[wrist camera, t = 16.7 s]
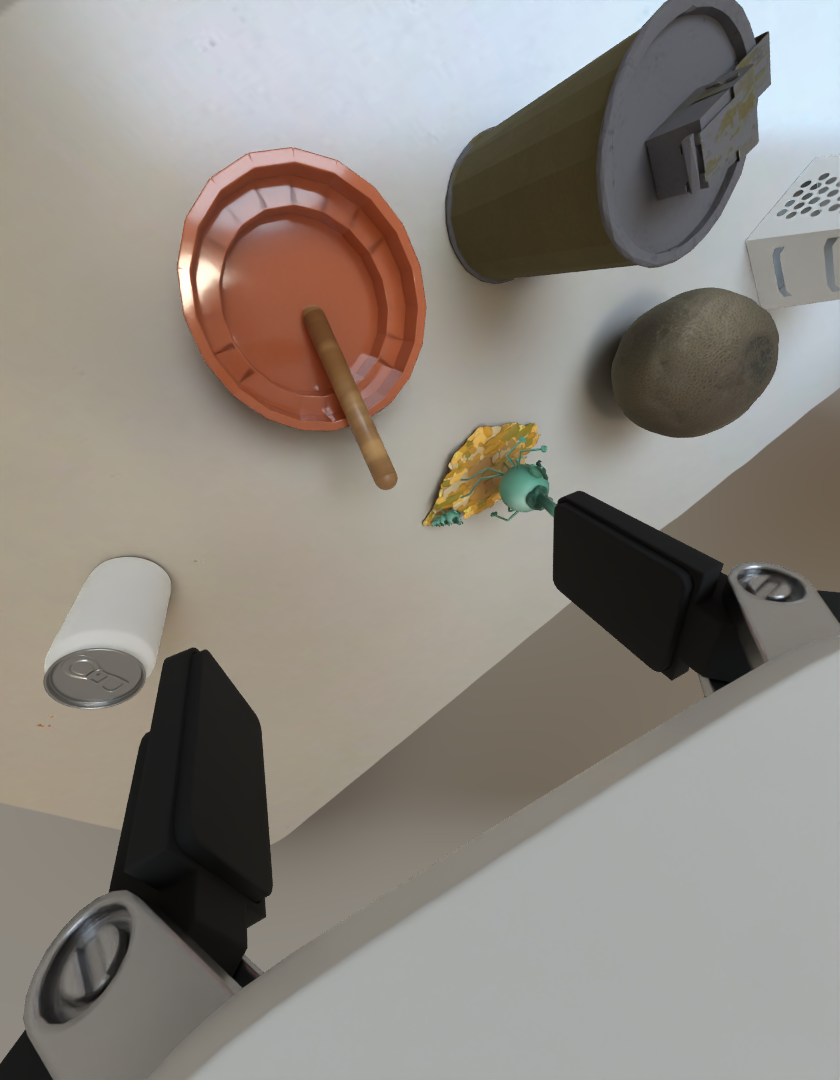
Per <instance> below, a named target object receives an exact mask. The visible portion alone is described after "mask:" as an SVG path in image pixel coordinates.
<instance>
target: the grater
mask: <svg viewBox="0 0 840 1080" xmlns="http://www.w3.org/2000/svg"><path fill="white" fill-rule="evenodd" d="M806 181H812V182H811V184H810V185H809V186H807V187H804V188H801V187H800V186H801V185H802V184H803V183H804V182H806ZM816 183H818V188H817V189H815V190H810V188H811V186H812V185H814V184H816ZM799 190H803V191H804V192H803V193H802V194H801V195H800V196H798V197H793V194H794V193H795V192H797V191H799ZM817 192H819V194H817ZM807 193H813V195H812V196H811V197H810V198H808V199H806V200H802V197H803V196H804V195H806V194H807ZM815 197H819V201H818V202H816V203H814V204H809V201H810V200H811V199H813V198H815ZM790 200H795V203H794V204H793V205H791V206H789V207H785V204H786V203H787V202H788V201H790ZM801 202H804V203H805V204H804V206H803V207H801V208H799V209H794V206H795V205H797V204H798V203H801ZM819 204H820V207H819V206H818V205H819ZM806 207H812V209H811V210H810V211H809V212H807V213H805V214H801V213H800V212H801V211H802V210H803V209H804V208H806ZM783 209H787V210H788V211H787V212H786V213H785V214H784V215H782V216H777V213H778V212H779V211H781V210H783ZM818 209H820V214H819V215H817V216H814V217H811V216H810V214H811V213H812V212H813V211H815V210H818ZM791 212H797V214H796V215H795V216H794V217H792V218H790V219H786V216H787V215H788V214H789V213H791ZM746 245H747V250H748V254H749V258H750V263H751V267H752V271H753V276H754V280H755V285H756V289H757V293H758V298H759V302H760V306H761V307H762V308H763V309H765V310H769V309H776V308H783V307H790V306H797V305H804V304H810V303H817V302H824V301H831V300H838V299H840V155H830V156H821V157H815V158H814V159H813V160H812V162H811V163H810V164H809V165H808V166H807V168H806V169H805V170H804V171H803V172H802V174H801V175H800V176H799V177H798V178H797V180H796V181H795V182H794V183H793V184H792V186H791V187H790V188H789V189H788V190H787V192H786V193H785V194H784V195H783V196H782V198H781V199H780V200H779V201H778V202H777V204H776V205H775V206H774V207H773V208H772V210H771V211H770V212H769V213H768V214H767V216H766V217H765V218H764V219H763V220H762V222H761V223H760V224H759V225H758V226H757V228H756V229H755V230H754V231H753V232H752V234H751V235H750V236H749V237H748V238H747V240H746ZM784 246H785V248H784V249H783V251H782V252H781V254H780V261H781V266H782V272H783V277H784V282H785V284H784V285H783V286H782V288H781V289H780V290H779V289H778V284H777V278H776V273H775V268H774V262H773V257H772V256H773V253H774V250H775V248H779V247H784Z"/></svg>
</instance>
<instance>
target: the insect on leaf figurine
mask: <svg viewBox="0 0 840 1080" xmlns="http://www.w3.org/2000/svg"><path fill="white" fill-rule="evenodd" d="M534 424H535V423H534ZM534 424H528V425H527V426H523V425H518V423H513V424H512V423H508V424H503V425H502V426H501V427H499V426H493V427H489V426H484V427H478V428H477V429H476V430H475V432H474V433H473V434H472V435H471V436H470V437H469V438H468V439H467V441H466V443H465V444H464V445H463V446H462V447H461V448H460V449H459V450H458V451H457V452H456V453H455V454H454V456H453V457H452V460H451V462H450V463H449V468H450V469H451V472H450V473H449V474H447V475H446V476H445V479H444V481H443V483H442V484H441V488H442V489H440V491H439V498H438V499H437V501H436V503H435V505H434V506H433V508H434V509H432V511H430V513H429V514H428V516H427V518H426V519H425V520H424V522H423V525H424V526H430V525H431V526H436V527H437V526H439V527H440V525H442V526H444V525H445V524H447V525H448V526H450V524H451V525H452V524H455V523H456V524H458V525H461V523H460V522H461V519H460V515H459V514H460V513H461V512H463V511H464V513H465V514H464V518H465V519H467V518H468V517H469V516H472V515H474V514H477V513H479V512H481V511H483V510H485V509H487V508H489V507H492V506H493V505H494V503H495V502H497V501H498V500H500V499H502V500H503V502H504V503H505V504H506V505H507V506H508V511H509V512H512V511H515V510H516V512H515V513H514V514H513V515H512V516H511V517H510V518H509V519H508V520H507V519H505V518H502V517H500V516H497V512H495V513H494V512H493V513H491V517H494V516H496V517H498V518H500V519H503V520H505V521H509V520H510V519H511V518H513V517H514V516H515V515H516V514H517V513H518V512H529V511H533V510H543V509H544V508H545V509H546V510H547V511H548V512H549V513H550V514H551V515H552V516H553V517H554V508H555V506H556V505H557V504H555V503H554V502H553V499H552V498H550V497H548V493H549V483H548V477H547V474H546V470H545V468H543V467H542V466H541V464H540V462H541V461H540V460H538V462H536V465H535V464H531V465H529V464H526V463H524V462H525V459H526V458H527V456H526V454H527V453H529V452H530V451H536V450H542V452H546V450H547V446H541V448H537V449H531V448H532V447H533V446H534V445H535V444H536V443H537V440H538V438H539V437H540V435H538V433H537V428H538V426H537V425H534ZM533 425H534V426H533ZM451 507H452V508H453V510H451V509H452V508H451ZM510 508H511V509H513V510H510ZM462 524H463V522H462ZM445 526H446V525H445Z"/></svg>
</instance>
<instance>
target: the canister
mask: <svg viewBox="0 0 840 1080" xmlns="http://www.w3.org/2000/svg"><path fill="white" fill-rule="evenodd" d="M770 85H771V75H770V44H769V32H765V33H763V34H761V35H760V36H758V37H756V38H754V35H753V32H752V29H751V26H750V23H749V21H748V18H747V16H746V14H745V12H744V10H743V8H742V7H741V6H740V5H739V4H738V3H737V2H736V1H735V0H668V1H666V2H665V3H664V4H663V5H662V6H661V7H660V8H659V9H658V10H657V11H656V12H655V13H654V15H653V16H652V17H651V18H650V19H649V20H648V21H647V22H646V23H645V24H644V25H643V26H642V28H641V29H639V30H638V31H637V32H635V33H634V34H632V35H631V36H629V37H628V38H626V39H625V40H623V41H622V42H620V43H619V44H617V45H616V46H614V47H613V48H611V49H610V50H608V51H607V52H605V53H604V54H602V55H601V56H599V57H598V58H597V59H595V60H594V61H592V62H591V63H589V64H588V65H586V66H585V67H583V68H582V69H580V70H579V71H577V72H576V73H574V74H573V75H571V76H570V77H568V78H567V79H565V80H564V81H562V82H561V83H560V84H558V85H557V86H555V87H554V88H552V89H551V90H549V91H548V92H546V93H545V94H543V95H542V96H540V97H539V98H537V99H536V100H534V101H533V102H531V103H530V104H528V105H527V106H525V107H524V108H523V109H521V110H520V111H518V112H517V113H515V114H514V115H512V116H511V117H509V118H508V119H506V120H505V121H503V122H502V123H500V124H499V125H497V126H496V127H492V128H489V129H487V130H485V131H483V132H481V133H480V134H478V135H477V136H476V137H474V138H473V139H472V140H471V141H470V143H469V144H468V145H467V146H466V147H465V149H464V150H463V152H462V153H461V155H460V156H459V157H458V159H457V162H456V164H455V166H454V169H453V171H452V173H451V178H450V183H449V188H448V193H447V198H446V216H447V226H448V232H449V237H450V241H451V243H452V246H453V248H454V250H455V253H456V255H457V256H458V258H459V259H460V261H461V262H462V264H463V265H464V267H465V268H466V270H467V271H468V272H470V273H471V274H472V275H474V276H475V277H477V278H478V279H480V280H481V281H484V282H489V283H503V282H507V281H510V280H513V279H514V278H522V277H531V276H540V275H550V274H559V273H569V272H578V271H587V270H597V269H606V268H616V267H625V266H634V265H639V266H643V267H648V268H654V267H661V266H664V265H667V264H670V263H673V262H675V261H677V260H678V259H680V258H681V257H683V256H684V255H686V254H687V253H689V252H690V251H691V250H692V249H693V248H694V247H695V246H696V245H697V244H698V243H699V242H700V241H701V240H702V239H703V238H704V237H705V236H706V235H707V233H708V232H709V231H710V230H711V228H712V227H713V225H714V224H715V223H716V221H717V220H718V218H719V217H720V216H721V214H722V212H723V210H724V208H725V206H726V204H727V202H728V200H729V198H730V196H731V194H732V192H733V190H734V188H735V186H736V184H737V182H738V180H739V178H740V176H741V173H742V169H743V166H744V162H745V158H746V155H747V154H748V153H749V152H750V151H751V150H752V149H753V148H754V147H755V146H756V145H757V144H758V142H759V137H758V120H757V103H758V97H759V96H760V95H761V94H762V93H763V92H764V91H765V90H766V89H767V88H768V87H769V86H770Z"/></svg>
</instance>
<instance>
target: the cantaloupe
mask: <svg viewBox="0 0 840 1080" xmlns="http://www.w3.org/2000/svg"><path fill="white" fill-rule="evenodd" d="M778 343H779V334H778V331H777V328H776V325H775V323H774V320H773V319H772V317H771V315H770V314H769V313H768V312H767V311H766V310H765V309H763V308H762V307H760V306H759V305H758V304H757V303H756V302H755V301H753V300H752V299H750V298H748V297H745V296H743V295H740V294H737V293H734V292H731V291H728V290H724V289H719V288H701V289H695V290H691V291H687V292H684V293H681V294H679V295H677V296H675V297H672V298H671V299H669V300H667V301H666V302H663V303H661V304H659V305H657V306H655V307H654V308H652V309H650V310H649V311H647V312H646V313H644V314H643V315H642V316H640V317H639V318H638V319H637V320H636V321H635V322H634V323H633V324H632V325H631V326H630V328H629V329H628V330H627V331H626V333H625V334H624V336H623V337H622V339H621V341H620V343H619V346H618V350H617V353H616V355H615V357H614V359H613V362H612V370H611V380H612V388H613V394H614V397H615V400H616V402H617V404H618V406H619V407H620V408H621V410H622V411H623V412H624V414H625V415H626V416H627V417H628V418H629V419H630V420H631V421H632V422H634V423H635V424H636V425H638V426H640V427H642V428H644V429H646V430H648V431H651V432H654V433H657V434H661V435H664V436H668V437H676V438H688V437H697V436H702V435H705V434H708V433H710V432H713V431H715V430H718V429H720V428H722V427H724V426H726V425H728V424H729V423H731V422H733V421H735V420H736V419H737V418H739V417H740V416H741V415H742V414H744V413H745V412H746V411H747V410H748V409H749V408H750V406H751V405H752V404H753V403H754V402H755V401H756V399H757V398H758V397H759V396H760V395H761V394H762V393H763V392H764V390H765V389H766V387H767V385H768V384H769V383H770V381H771V379H772V377H773V375H774V372H775V370H776V366H777V360H778Z"/></svg>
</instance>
